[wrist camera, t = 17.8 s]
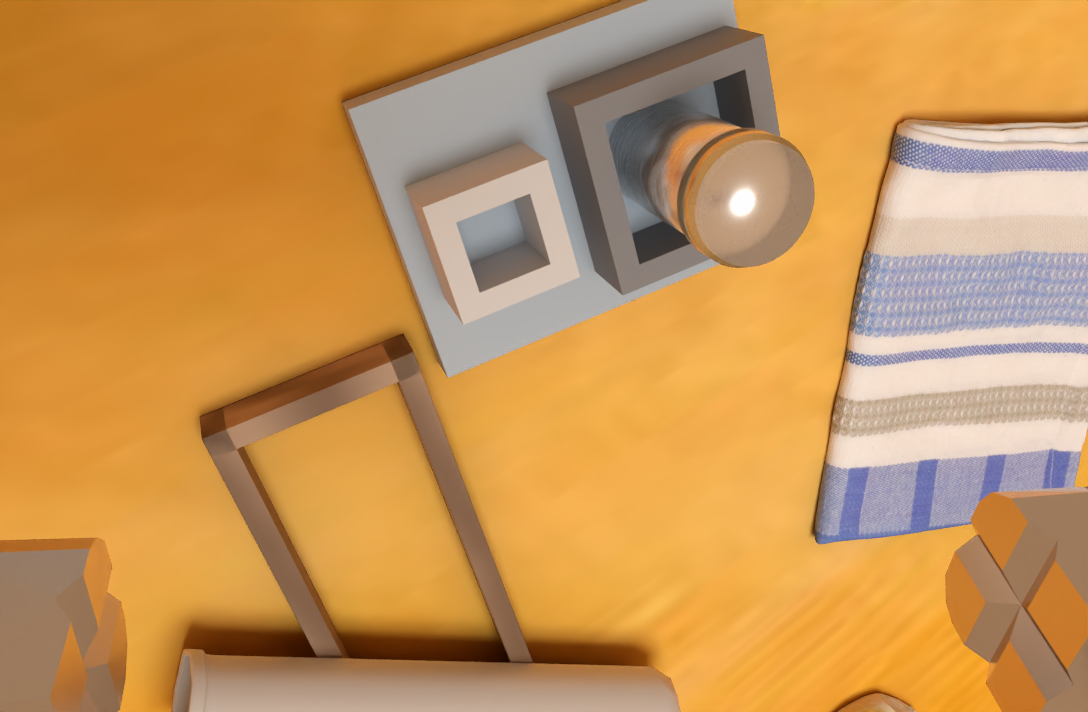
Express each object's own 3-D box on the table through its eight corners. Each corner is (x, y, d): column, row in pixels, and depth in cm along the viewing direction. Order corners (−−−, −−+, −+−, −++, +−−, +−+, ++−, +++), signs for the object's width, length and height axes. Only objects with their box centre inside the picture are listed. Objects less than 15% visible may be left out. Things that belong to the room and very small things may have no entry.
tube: (708, 680, 52) (197, 670, 42) (690, 784, 52) (175, 800, 42) (654, 646, 57) (184, 629, 47) (638, 741, 57) (164, 746, 47)
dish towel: (1161, 110, 54) (1208, 121, 52) (1040, 500, 63) (1075, 524, 61) (885, 101, 48) (924, 113, 46) (796, 532, 57) (824, 560, 55)
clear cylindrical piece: (598, 211, 43) (690, 277, 36) (604, 94, 41) (703, 139, 34) (701, 203, 45) (809, 266, 37) (711, 91, 43) (828, 134, 36)
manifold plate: (439, 363, 45) (466, 408, 41) (341, 102, 40) (362, 126, 36) (757, 231, 48) (811, 261, 44) (710, -32, 42) (766, -23, 38)
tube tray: (446, 887, 59) (455, 917, 57) (199, 416, 43) (201, 439, 41) (589, 814, 60) (602, 841, 58) (403, 333, 44) (413, 352, 42)
